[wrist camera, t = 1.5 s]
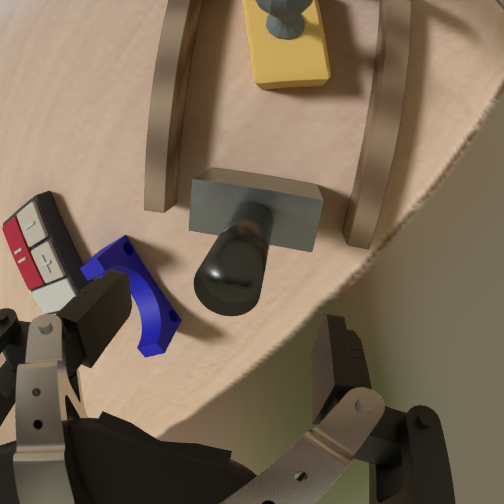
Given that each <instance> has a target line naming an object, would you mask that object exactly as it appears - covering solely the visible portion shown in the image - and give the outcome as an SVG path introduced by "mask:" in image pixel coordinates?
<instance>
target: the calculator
mask: <svg viewBox="0 0 504 504" xmlns="http://www.w3.org/2000/svg"><path fill="white" fill-rule="evenodd" d="M2 229H3V232H4V235H5V237H6V240H7V242H8V245H9V247H10V250H11V252H12V255H13V257H14V259H15V262H16V264H17V266H18V268H19V271H20V273H21V275H22V277H23V279H24V281H25V283H26V285H27V287H28V289H29V290H31V292H32V295H33V297H34V299H35V300H36V302H37V304H38V306H39V308H40V310H41V311H42V313H43V314H55V313H58V312H59V311H60V310H61V309H62V308H63V307H64V306H65V305H66V304H67V303H68V302H69V301H70V300H71V299H72V298H73V297H74V296H75V297H76V294H77V293H78V292H80V291H81V290H82V289H83V288H84V287H85V286H86V285H87V284H88V283H90V282H92V279H90V280H87V279H86V277H85V276H84V274H83V273H82V271H81V270H80V268H81V267H82V266H83V264H82V263H81V260H80V258H79V256H78V254H77V252H76V250H75V247H74V245H73V243H72V241H71V238H70V236H69V234H68V231H67V229H66V227H65V225H64V222H63V220H62V218H61V215H60V213H59V211H58V208H57V206H56V203H55V201H54V198H53V196H52V193H51V192H50V191H47V192H44V193H41V194H38V195H36V196H34V197H33V198H32V199H30V200H29V201H28V202H27V203H26V204H24V205H23V206H22V207H21V208H20V209H19V210H18V211H16V212H15V213H14V214H13V215H12V216H11V217H10V218H9V219H8V220H6V221H5V222H4V223H3V227H2Z"/></svg>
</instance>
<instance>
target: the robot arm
mask: <svg viewBox="0 0 504 504" xmlns="http://www.w3.org/2000/svg"><path fill="white" fill-rule="evenodd" d="M131 309H132V300H131V291H130V281H129V276H128V274H127V273H124V272H120V271H116V270H109V271H108V272H107V273H106V274H105V275H104V276H103V277H102V278H101V279H100V278H98V279H96V280H94V281H92V282H90V283H88V284H87V285H86V286H85V287H84V288H83V289H82V290H81V291H80V292H78V293H77V294H76V297H75V296H74V297H73V298H72V299H71V300H70V301H69V302H68V303H67V304H66V305H65V306H64V307H63V308H62V309H61V310H60V311H59V312H58V313H57V314H56V315H53V314H44V315H40V316H38V317H36V318H35V319H34V320H33V321H32V322H24V321H19V320H18V318H17V315H16V312H15V311H14V310H12V309H9V308H4V309H1V310H0V354H1V352H2V353H3V355H4V357H5V358H6V361H5V363H4V364H3V365H2V367H1V368H0V426H1V424H2V423H3V421H4V419H5V418H6V416H7V414H8V413H9V411H10V410H11V408H12V407H13V405H14V404H16V405H15V412H16V413H15V417H16V441H13V442H10V443H7V444H4V445H1V446H0V504H315V503H316V502H317V501H318V500H319V499H320V498H321V496H322V495H323V494H324V493H325V492H326V491H327V490H328V489H329V488H330V487H331V485H332V484H333V483H334V482H335V481H336V480H337V478H338V477H339V476H340V475H341V474H342V473H343V471H344V470H345V469H346V468H347V466H348V465H349V464H350V462H351V461H352V459H353V458H355V459H358V460H362V461H365V462H368V463H369V482H370V483H369V486H370V487H369V497H370V498H369V504H455V496H454V488H453V481H452V475H451V469H450V463H449V458H448V453H447V449H446V443H445V439H444V434H443V430H442V426H441V422H440V419H439V417H438V415H437V414H436V412H435V411H433V410H432V409H431V408H429V407H426V406H422V405H418V406H414V407H412V408H411V409H410V410H409V411H408V412H407V413H405V412H401V411H398V410H395V409H391V408H389V407H386V406H385V405H384V402H383V400H382V398H381V397H380V395H378V394H377V393H376V392H375V391H373V390H372V387H371V382H370V378H369V373H368V368H367V364H366V360H365V355H364V352H363V346H362V342H361V339H360V338H359V337H358V335H357V334H356V333H355V332H354V331H352V330H347V329H346V324H345V319H344V317H343V316H337V315H331V314H324V316H323V318H322V321H321V324H320V327H319V329H318V332H317V335H316V338H315V341H314V344H313V348H312V354H311V364H312V365H311V366H312V424H316V425H317V426H316V427H315V428H314V429H313V430H309V431H308V432H307V433H305V434H304V435H303V436H302V437H301V438H300V439H299V440H298V441H297V442H296V443H295V444H294V445H293V446H292V447H290V448H289V449H288V450H287V451H286V452H285V453H284V454H283V455H282V456H280V457H279V458H278V459H277V460H276V461H275V462H273V464H271V465H270V466H269V467H268V468H266V469H265V470H264V471H263V472H261V473H260V474H259V475H258V476H257V475H256V474H255V473H253V472H252V471H251V470H249V469H248V468H247V467H245V466H244V465H242V464H240V463H238V462H236V461H234V460H232V459H230V457H231V453H232V451H228V450H223V449H219V448H214V447H209V446H205V445H201V444H197V443H196V444H195V443H176V442H164V441H160V440H157V439H156V438H154V437H152V436H151V435H149V434H148V433H146V432H144V431H143V430H141V429H140V428H138V427H137V426H135V425H134V424H132V423H130V422H128V421H125V420H123V419H120V418H118V417H115V416H113V415H110V414H108V413H106V412H102V413H101V415H100V417H99V419H98V418H88V417H87V415H86V411H85V408H84V402H83V395H82V389H81V381H80V373H79V370H78V368H79V366H80V365H81V364H82V365H84V366H87V367H89V368H92V366H93V365H94V364H95V362H96V361H97V359H98V358H99V357H100V355H101V354H102V352H103V351H104V350H105V348H106V347H107V346H108V344H109V343H110V341H111V340H112V339H113V337H114V336H115V335H116V333H117V332H118V331H119V329H120V328H121V327H122V325H123V324H124V323H125V321H126V320H127V319H128V317H129V315H130V313H131ZM15 402H16V403H15Z"/></svg>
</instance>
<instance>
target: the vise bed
mask: <svg viewBox="0 0 504 504" xmlns="http://www.w3.org/2000/svg"><path fill="white" fill-rule="evenodd" d="M202 1H203V0H168V4H167V8H166V13H165V17H164V22H163V27H162V31H161V37H160V42H159V47H158V53H157V59H156V65H155V72H154V78H153V86H152V94H151V102H150V111H149V121H148V133H147V146H146V163H145V188H144V210H147V211H153V212H160V213H165V212H166V211H167V210H169V209H170V208H171V207H173V206H174V205H175V204H176V199H177V182H178V168H179V156H180V145H181V134H182V125H183V116H184V107H185V100H186V92H187V85H188V78H189V71H190V65H191V58H192V52H193V47H194V41H195V36H196V30H197V25H198V20H199V15H200V10H201V6H202ZM410 23H411V0H380V11H379V26H378V38H377V48H376V58H375V66H374V74H373V82H372V89H371V96H370V102H369V109H368V115H367V121H366V126H365V132H364V137H363V143H362V148H361V153H360V158H359V163H358V168H357V172H356V177H355V181H354V186H353V190H352V194H351V199H350V203H349V207H348V211H347V215H346V219H345V223H344V227H343V231H342V234H343V236H344V238H345V241H346V243H347V245H349V246H354V247H359V248H364V249H369V248H370V244H371V241H372V238H373V235H374V231H375V228H376V224H377V221H378V217H379V214H380V210H381V206H382V202H383V199H384V195H385V191H386V187H387V183H388V178H389V174H390V170H391V165H392V161H393V156H394V151H395V146H396V141H397V136H398V130H399V125H400V119H401V113H402V106H403V99H404V92H405V84H406V76H407V66H408V56H409V42H410Z"/></svg>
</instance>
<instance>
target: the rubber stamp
mask: <svg viewBox="0 0 504 504" xmlns="http://www.w3.org/2000/svg"><path fill="white" fill-rule="evenodd" d="M243 7H244V13H245V20H246V27H247V34H248V42H249V49H250V56H251V64H252V71H253V79H254V82H255V83H256V84H257V86H258V87H260V88H261V89H262V90H267V89H277V88H290V87H307V86H323V85H324V84H325V83H326V82H327V80H328V79H329V78H330V77H331V71H330V64H329V57H328V51H327V45H326V39H325V33H324V28H323V22H322V17H321V12H320V7H319V3H318V0H243Z"/></svg>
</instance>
